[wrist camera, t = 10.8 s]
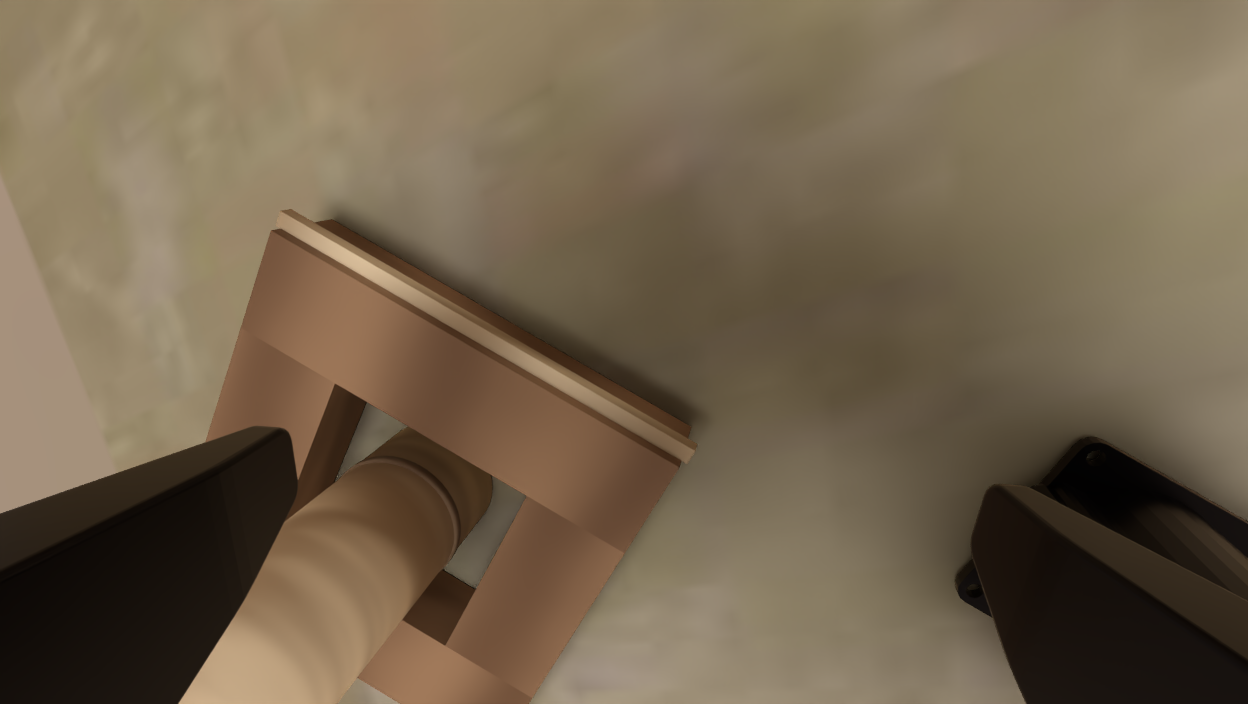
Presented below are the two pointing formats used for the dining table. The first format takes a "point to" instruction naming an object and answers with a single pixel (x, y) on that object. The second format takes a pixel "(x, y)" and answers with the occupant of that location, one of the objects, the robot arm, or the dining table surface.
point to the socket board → (452, 447)
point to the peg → (345, 576)
